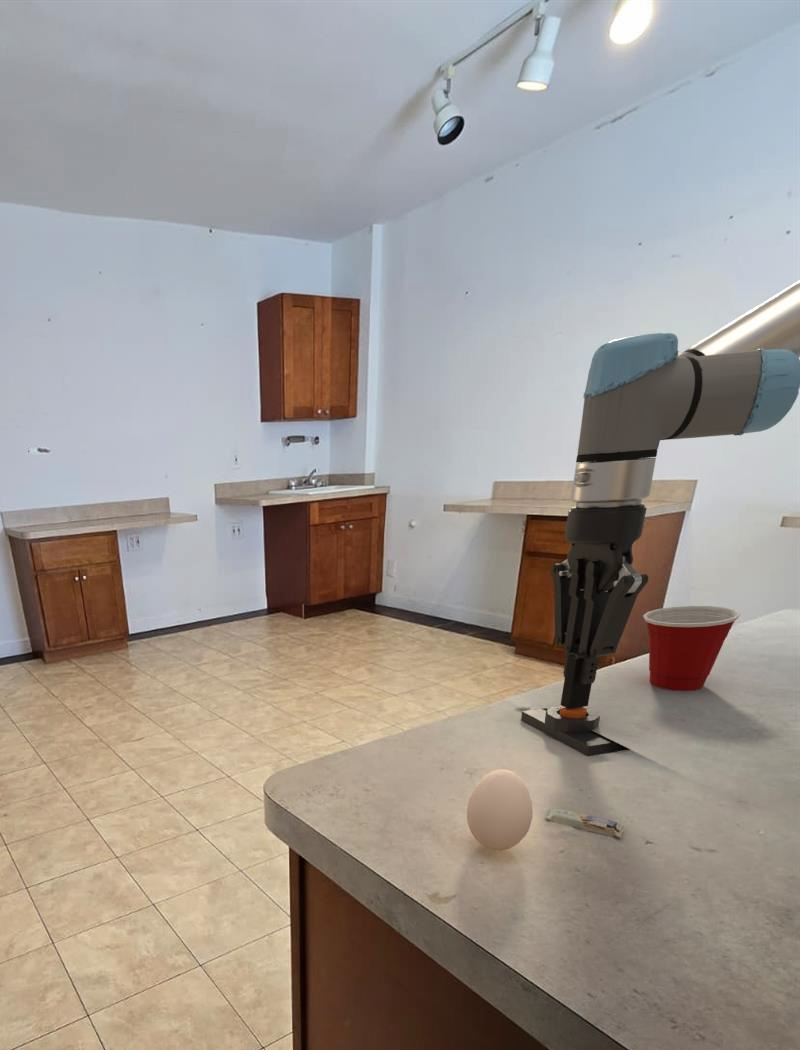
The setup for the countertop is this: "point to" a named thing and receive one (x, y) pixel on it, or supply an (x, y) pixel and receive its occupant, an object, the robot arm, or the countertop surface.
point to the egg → (499, 810)
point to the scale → (572, 730)
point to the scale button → (573, 712)
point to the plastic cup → (686, 644)
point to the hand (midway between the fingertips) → (574, 705)
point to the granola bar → (585, 822)
